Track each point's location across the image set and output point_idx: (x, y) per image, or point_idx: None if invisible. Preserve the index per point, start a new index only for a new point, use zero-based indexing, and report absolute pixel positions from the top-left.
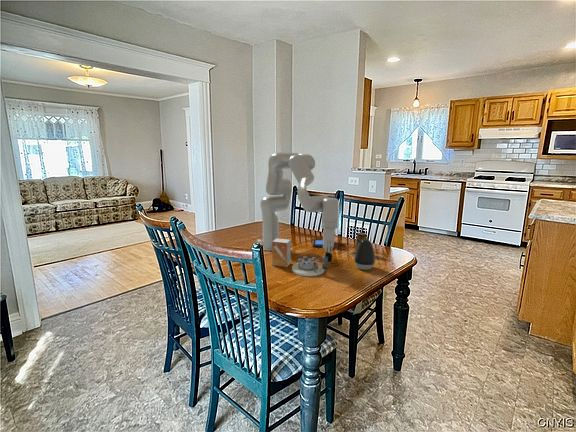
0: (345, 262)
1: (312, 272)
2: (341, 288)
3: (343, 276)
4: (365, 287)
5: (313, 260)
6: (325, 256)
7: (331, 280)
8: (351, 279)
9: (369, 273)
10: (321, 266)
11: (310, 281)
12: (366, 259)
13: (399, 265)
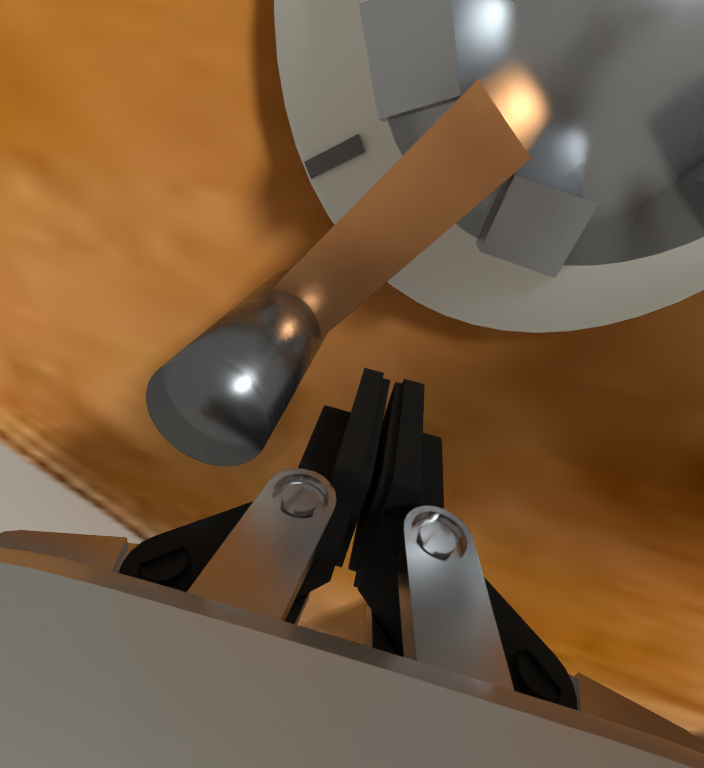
0: (669, 578)
1: (318, 86)
2: (39, 353)
3: (300, 447)
4: (112, 506)
5: (672, 159)
6: (206, 419)
7: (193, 316)
8: (238, 480)
9: (357, 613)
10: (555, 297)
11: (115, 21)
12: None
13: None
